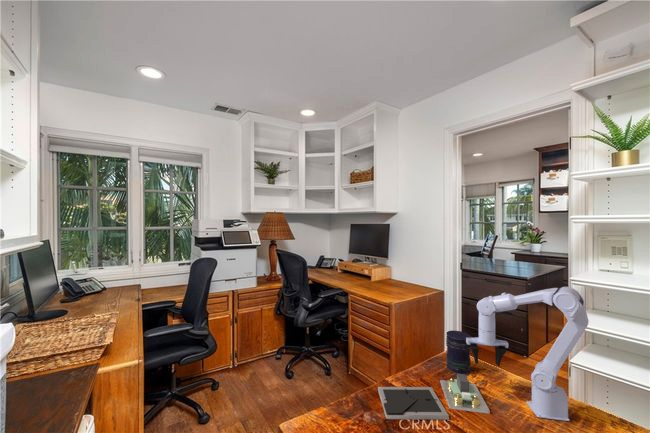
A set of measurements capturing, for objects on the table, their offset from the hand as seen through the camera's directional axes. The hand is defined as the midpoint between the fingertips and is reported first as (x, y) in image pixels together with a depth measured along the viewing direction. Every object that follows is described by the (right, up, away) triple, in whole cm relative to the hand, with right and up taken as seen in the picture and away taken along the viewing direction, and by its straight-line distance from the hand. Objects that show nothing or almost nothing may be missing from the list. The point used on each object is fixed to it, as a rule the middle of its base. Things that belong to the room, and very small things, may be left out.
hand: (486, 363), depth 111 cm
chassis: (-12, -10, -5) cm, 16 cm away
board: (-12, -7, -5) cm, 15 cm away
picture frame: (-32, -11, -9) cm, 35 cm away
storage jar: (-4, -10, +15) cm, 19 cm away
